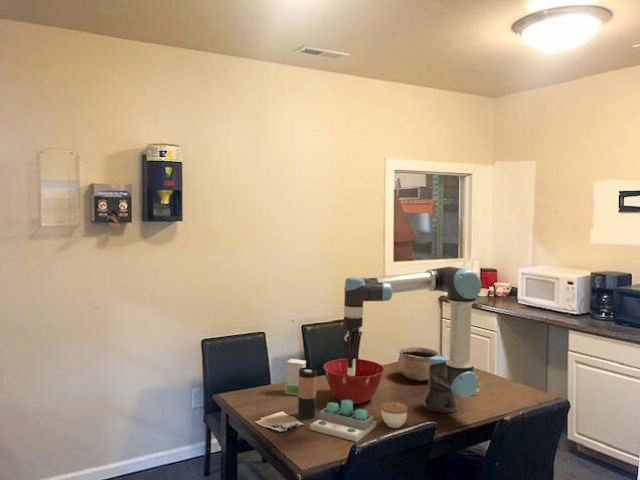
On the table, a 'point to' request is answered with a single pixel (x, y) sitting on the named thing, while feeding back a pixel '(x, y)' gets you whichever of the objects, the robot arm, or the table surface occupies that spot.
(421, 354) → the ceramic bowl
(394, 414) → the lidded jar
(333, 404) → the button
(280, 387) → the table surface
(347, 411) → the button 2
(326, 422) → the button panel
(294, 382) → the skincare box
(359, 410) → the button
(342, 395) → the mixing bowl
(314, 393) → the travel mug
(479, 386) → the rubik's cube
